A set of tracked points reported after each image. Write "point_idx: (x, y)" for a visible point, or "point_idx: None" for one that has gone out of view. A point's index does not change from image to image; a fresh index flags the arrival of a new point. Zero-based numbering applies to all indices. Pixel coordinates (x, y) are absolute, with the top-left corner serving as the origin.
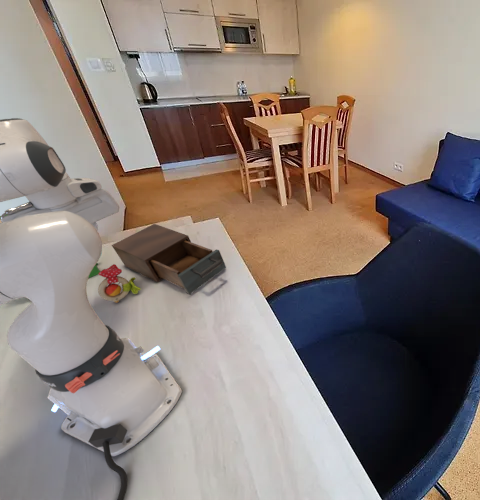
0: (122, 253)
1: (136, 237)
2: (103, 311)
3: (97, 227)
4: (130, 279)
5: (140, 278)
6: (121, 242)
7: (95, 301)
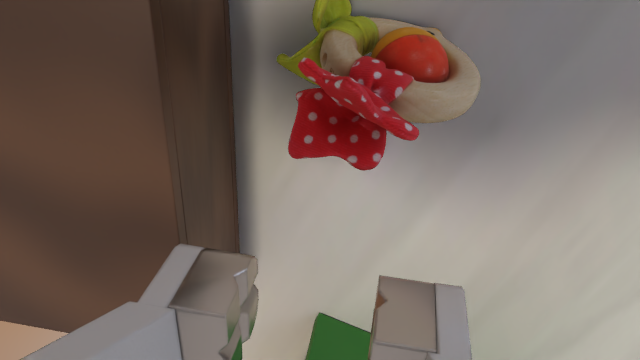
0: None
1: (77, 294)
2: (510, 43)
3: (38, 351)
4: (302, 55)
5: (255, 103)
6: None
7: (462, 162)
